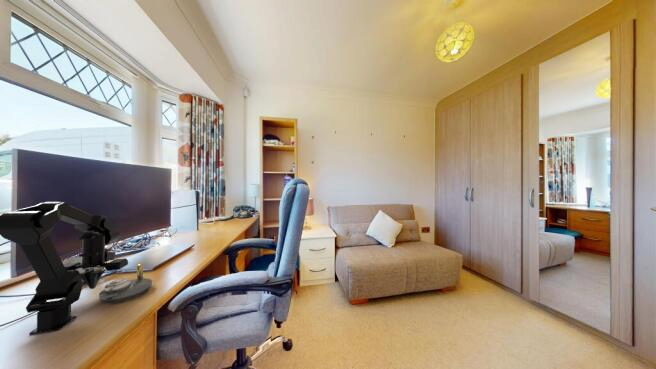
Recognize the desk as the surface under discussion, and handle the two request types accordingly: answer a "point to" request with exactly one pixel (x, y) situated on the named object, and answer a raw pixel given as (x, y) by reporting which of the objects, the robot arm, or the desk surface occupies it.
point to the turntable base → (125, 299)
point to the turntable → (129, 288)
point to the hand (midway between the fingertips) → (93, 288)
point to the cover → (117, 285)
